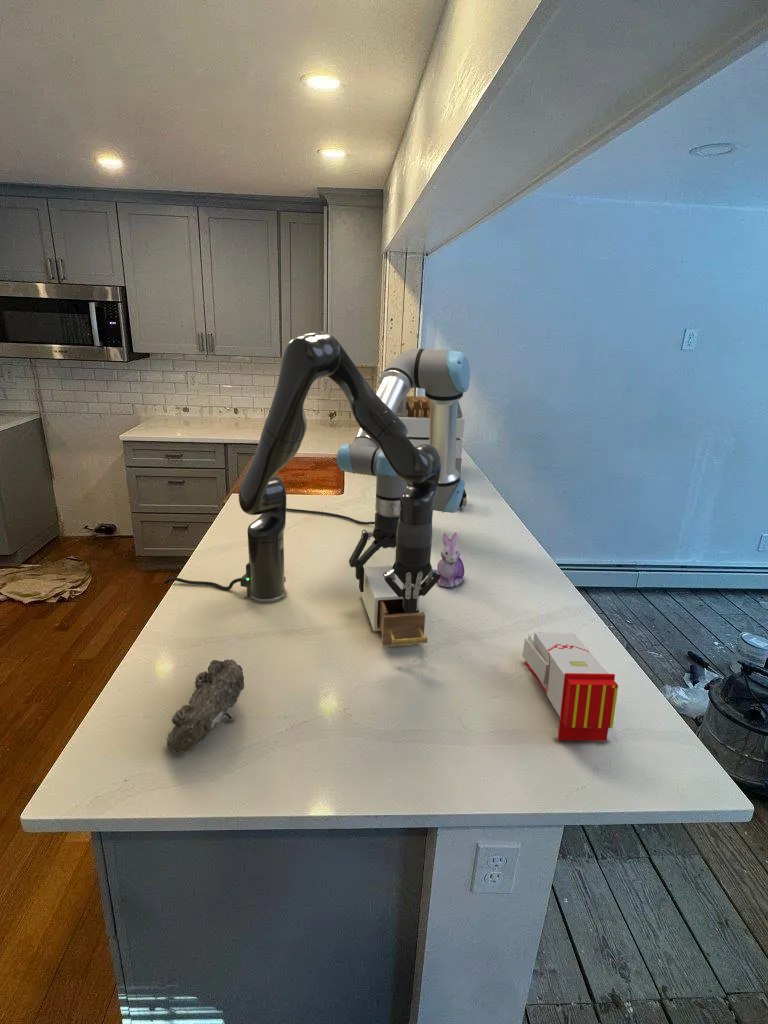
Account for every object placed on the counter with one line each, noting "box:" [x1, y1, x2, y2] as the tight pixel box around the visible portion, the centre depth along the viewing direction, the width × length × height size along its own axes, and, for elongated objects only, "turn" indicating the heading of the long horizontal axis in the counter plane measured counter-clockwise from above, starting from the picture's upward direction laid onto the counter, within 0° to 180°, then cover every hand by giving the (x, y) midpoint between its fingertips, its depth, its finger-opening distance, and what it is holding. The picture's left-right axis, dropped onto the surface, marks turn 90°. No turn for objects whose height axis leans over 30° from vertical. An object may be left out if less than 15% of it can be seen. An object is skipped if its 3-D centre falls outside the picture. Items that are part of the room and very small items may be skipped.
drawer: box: [377, 599, 428, 647], centre depth 136 cm, size 22×10×8 cm, turn 12°
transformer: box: [395, 394, 465, 475], centre depth 268 cm, size 34×33×41 cm
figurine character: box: [458, 488, 468, 511], centre depth 230 cm, size 7×8×15 cm
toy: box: [522, 631, 619, 742], centre depth 117 cm, size 12×13×30 cm
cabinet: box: [361, 565, 420, 632], centre depth 146 cm, size 17×11×9 cm, turn 12°
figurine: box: [436, 531, 465, 588], centre depth 164 cm, size 9×10×15 cm
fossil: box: [166, 658, 245, 754], centre depth 106 cm, size 22×10×15 cm
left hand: (409, 611), depth 126 cm, fingers closed
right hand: (386, 588), depth 150 cm, fingers open, 13 cm apart
